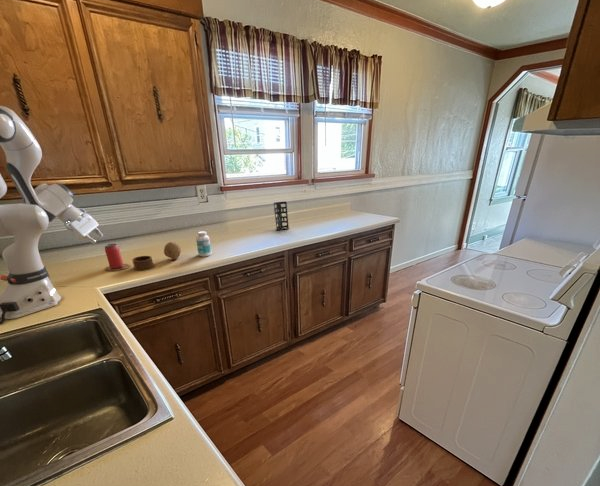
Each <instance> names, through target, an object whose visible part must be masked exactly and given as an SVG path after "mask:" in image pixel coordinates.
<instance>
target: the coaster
mask: <svg viewBox="0 0 600 486" xmlns="http://www.w3.org/2000/svg"><path fill="white" fill-rule="evenodd" d="M129 267H130V266H129V264H128V263H123V267H121V268H117V269H112V268H110V265H109V266H107V267H106V268H105V270H106V271H107V272H119V271H125V270H126V269H128V268H129Z"/></svg>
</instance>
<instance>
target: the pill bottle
mask: <svg viewBox="0 0 600 486" xmlns="http://www.w3.org/2000/svg"><path fill="white" fill-rule="evenodd" d="M195 241H196V246H197V252H198V253H197V254H198V256H199V257H209V256H211V255H212V249H211V241H210V236H208V235H207V231H203V230H201V231H198V232H197V236H196V238H195Z"/></svg>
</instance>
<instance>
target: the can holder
mask: <svg viewBox="0 0 600 486" xmlns="http://www.w3.org/2000/svg"><path fill="white" fill-rule="evenodd" d="M131 261H132V264H133V268H134V270H136V271H147V270H150V269H153V268H154V266H155V265H154V261H153V257H152V255H151V256H150V255H139V256H135V257H133V258H132V259H131Z"/></svg>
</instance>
